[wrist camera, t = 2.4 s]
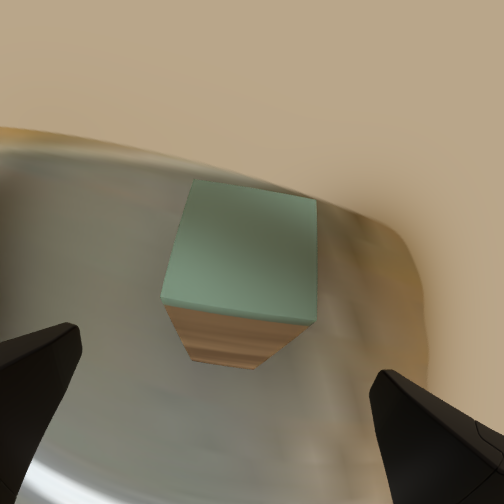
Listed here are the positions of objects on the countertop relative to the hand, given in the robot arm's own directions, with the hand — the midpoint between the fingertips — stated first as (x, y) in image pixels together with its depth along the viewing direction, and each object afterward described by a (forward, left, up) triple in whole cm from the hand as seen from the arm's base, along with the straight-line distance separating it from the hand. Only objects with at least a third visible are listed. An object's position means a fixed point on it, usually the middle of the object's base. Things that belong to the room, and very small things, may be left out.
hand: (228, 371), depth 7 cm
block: (+2, +2, -11) cm, 11 cm away
